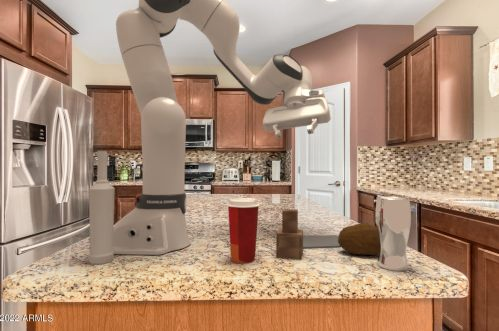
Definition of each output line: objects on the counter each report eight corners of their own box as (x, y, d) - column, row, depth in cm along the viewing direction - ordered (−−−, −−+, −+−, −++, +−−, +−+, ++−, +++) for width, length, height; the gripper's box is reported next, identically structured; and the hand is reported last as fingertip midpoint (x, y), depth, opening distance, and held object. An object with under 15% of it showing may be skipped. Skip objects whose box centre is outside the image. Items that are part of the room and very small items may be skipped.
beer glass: (417, 272, 60) (417, 199, 60) (383, 271, 61) (383, 199, 61) (400, 261, 67) (400, 196, 67) (370, 261, 67) (370, 196, 68)
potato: (335, 248, 78) (335, 219, 78) (383, 250, 77) (383, 220, 77) (341, 257, 70) (341, 225, 70) (395, 259, 69) (395, 227, 69)
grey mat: (299, 248, 77) (299, 247, 77) (286, 237, 89) (286, 236, 89) (355, 246, 80) (355, 245, 80) (336, 236, 92) (336, 235, 92)
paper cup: (263, 256, 70) (263, 198, 71) (253, 266, 63) (253, 202, 63) (233, 253, 73) (233, 197, 73) (220, 262, 66) (220, 200, 66)
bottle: (94, 257, 69) (95, 151, 69) (117, 257, 69) (118, 151, 69) (84, 265, 63) (85, 150, 64) (109, 264, 64) (110, 150, 64)
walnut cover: (276, 257, 70) (276, 211, 70) (279, 250, 75) (279, 208, 76) (301, 259, 68) (301, 212, 68) (303, 252, 74) (303, 209, 74)
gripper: (263, 101, 94) (256, 131, 85) (328, 89, 86) (327, 121, 78) (269, 116, 98) (263, 146, 90) (331, 106, 91) (331, 137, 82)
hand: (293, 134), depth 84 cm, fingers open, 8 cm apart
